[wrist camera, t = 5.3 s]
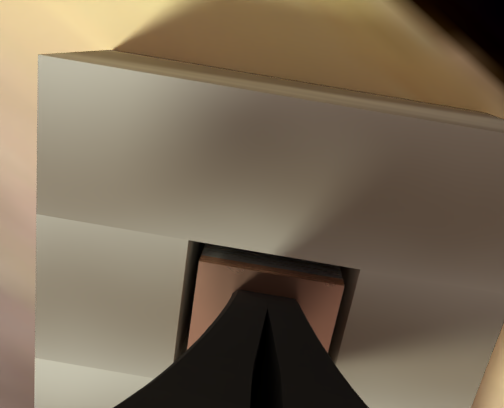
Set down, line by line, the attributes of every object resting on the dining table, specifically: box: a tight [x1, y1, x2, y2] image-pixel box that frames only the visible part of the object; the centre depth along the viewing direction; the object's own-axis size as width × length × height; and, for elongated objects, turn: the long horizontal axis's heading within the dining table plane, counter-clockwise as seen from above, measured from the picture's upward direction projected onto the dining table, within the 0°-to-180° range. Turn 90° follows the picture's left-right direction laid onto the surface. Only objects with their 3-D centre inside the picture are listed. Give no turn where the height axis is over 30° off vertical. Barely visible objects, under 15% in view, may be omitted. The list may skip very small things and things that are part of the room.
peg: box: [187, 243, 344, 353], centre depth 12 cm, size 3×3×4 cm
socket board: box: [34, 50, 504, 408], centre depth 14 cm, size 18×10×4 cm, turn 171°
